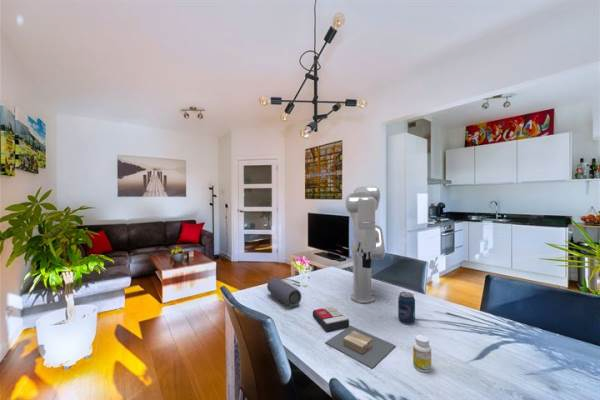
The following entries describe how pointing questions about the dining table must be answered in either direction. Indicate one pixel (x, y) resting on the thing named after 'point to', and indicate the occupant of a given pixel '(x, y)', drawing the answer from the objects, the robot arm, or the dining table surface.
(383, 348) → the mat
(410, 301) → the soda can
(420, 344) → the supplement bottle
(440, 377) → the dining table surface
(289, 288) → the bluetooth speaker
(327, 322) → the red and cream box
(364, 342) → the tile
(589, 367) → the dining table surface
